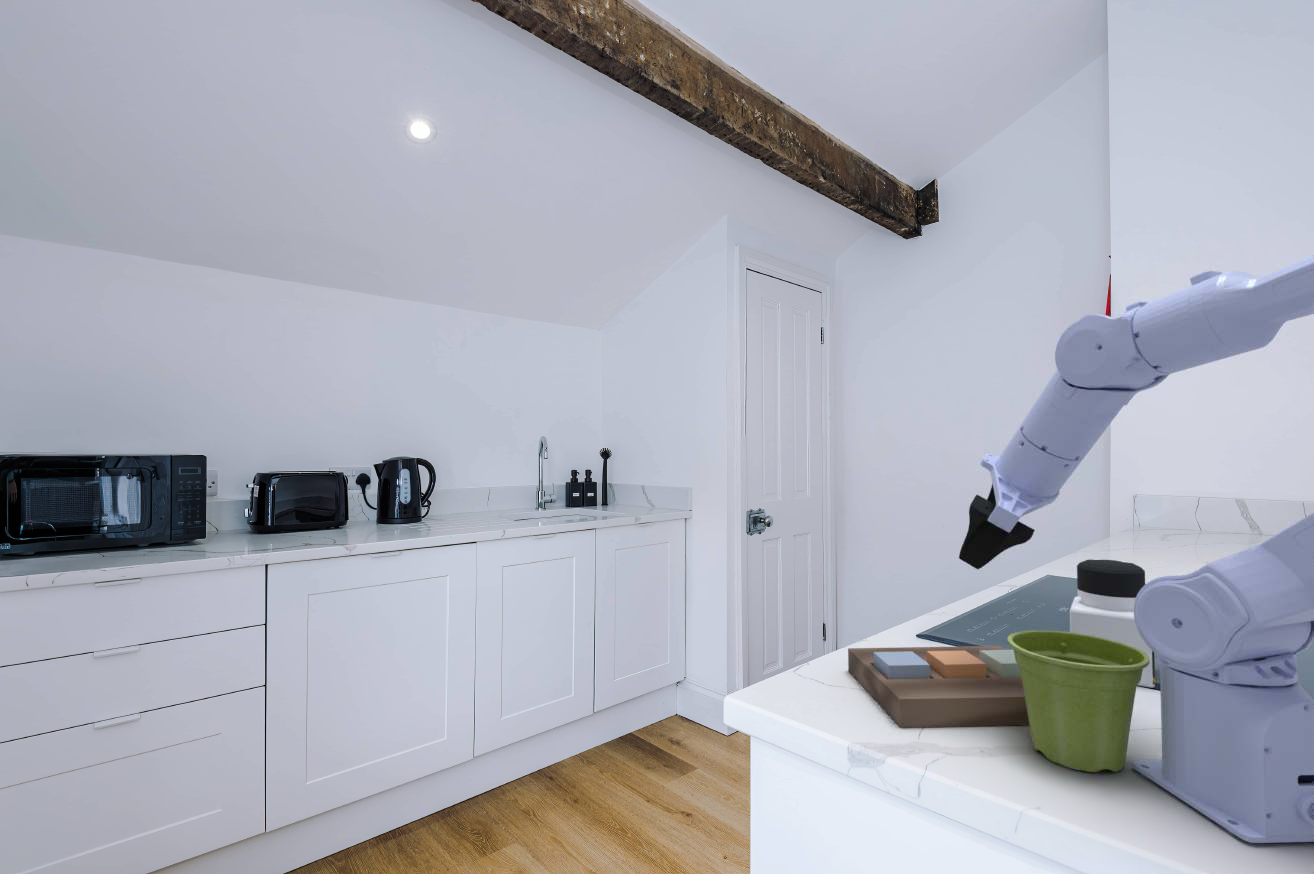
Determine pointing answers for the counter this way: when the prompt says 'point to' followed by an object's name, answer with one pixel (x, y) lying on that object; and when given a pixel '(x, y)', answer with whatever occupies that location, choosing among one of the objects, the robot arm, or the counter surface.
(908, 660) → the button slate
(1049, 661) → the plant pot
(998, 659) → the button sage
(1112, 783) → the counter surface
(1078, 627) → the medicine bottle
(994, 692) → the button panel
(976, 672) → the button terracotta
